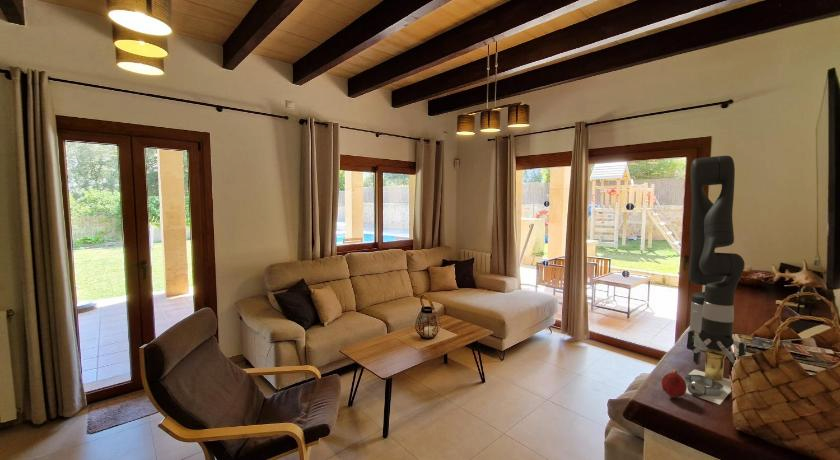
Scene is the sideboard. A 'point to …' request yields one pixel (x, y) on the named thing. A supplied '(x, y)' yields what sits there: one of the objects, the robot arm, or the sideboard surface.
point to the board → (714, 399)
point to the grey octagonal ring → (698, 388)
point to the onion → (674, 384)
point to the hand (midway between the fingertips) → (713, 368)
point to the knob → (714, 364)
